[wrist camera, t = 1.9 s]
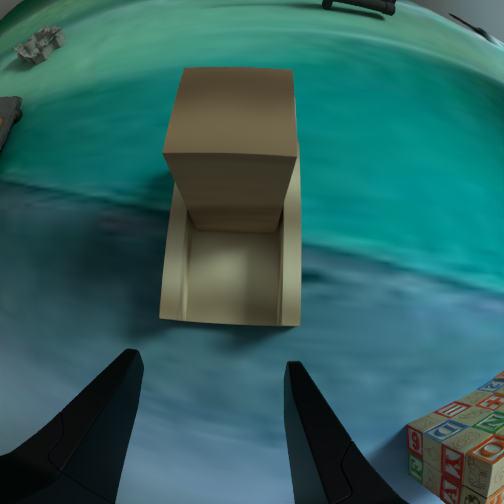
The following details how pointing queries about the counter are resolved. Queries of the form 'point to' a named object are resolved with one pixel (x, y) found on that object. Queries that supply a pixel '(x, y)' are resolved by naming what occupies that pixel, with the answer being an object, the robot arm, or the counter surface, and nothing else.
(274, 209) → the walnut block
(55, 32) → the bumpy grey rock
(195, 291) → the chute
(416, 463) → the stack of blocks
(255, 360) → the counter surface
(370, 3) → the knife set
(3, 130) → the serving board
